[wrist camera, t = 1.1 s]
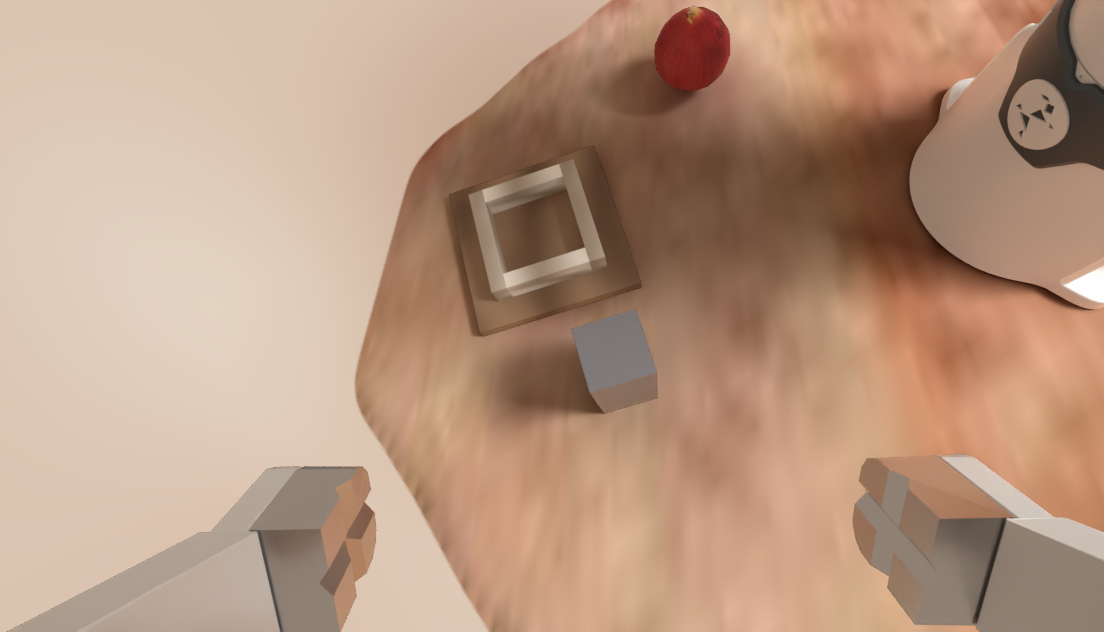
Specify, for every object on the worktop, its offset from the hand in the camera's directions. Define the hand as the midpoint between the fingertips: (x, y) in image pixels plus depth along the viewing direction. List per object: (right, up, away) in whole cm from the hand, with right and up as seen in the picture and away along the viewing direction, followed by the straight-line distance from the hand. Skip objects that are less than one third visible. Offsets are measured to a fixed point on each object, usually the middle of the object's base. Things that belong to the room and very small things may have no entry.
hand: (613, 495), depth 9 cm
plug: (+4, -2, +31) cm, 31 cm away
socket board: (-2, +9, +36) cm, 37 cm away
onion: (+11, +23, +38) cm, 45 cm away
